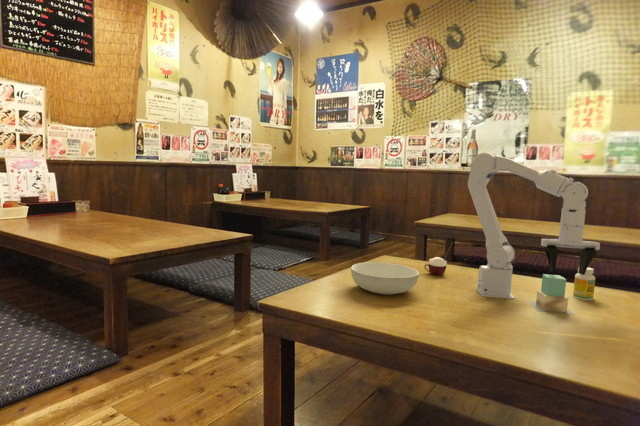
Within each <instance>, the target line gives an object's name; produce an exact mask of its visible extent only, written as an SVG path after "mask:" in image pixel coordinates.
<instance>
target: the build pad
mask: <svg viewBox="0 0 640 426" xmlns="http://www.w3.org/2000/svg"><path fill="white" fill-rule="evenodd" d="M528 302H529V303H530V304H531V305H532V306H533V307H534V308H535V309H536V310H537V311H539V312H541V313H542V312H543V313H550V314H551V313H552V314H562V315H574V316H575V315H576V314H575V313H574V312H572V311H571V309H569V308H567V312H559V311H547V310H543V309H542V308H541V307H539V306H538V305H537V304H536V301H531V300H529V301H528Z"/></svg>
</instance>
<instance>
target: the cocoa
mask: <svg viewBox="0 0 640 426" xmlns="http://www.w3.org/2000/svg"><path fill="white" fill-rule="evenodd" d="M453 245H454V242H451V243H450V245H449V247H448V248H447V249H448V250H447V252H446V253H445V255H444V258H442V257H438V256H435V257H433V258H429V260H428V264H427V263H426V264H424V266H423V267H424V269H425V270H426V271H427V272H428V273H429V274H431V275H433V276H442V275H444V274H445V273H446V270H447V259H448V258H447V257H448V256H449V254H450V252H451V250H452V247H453ZM426 266H428V269H427V268H426Z"/></svg>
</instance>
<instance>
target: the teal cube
mask: <svg viewBox="0 0 640 426" xmlns="http://www.w3.org/2000/svg"><path fill="white" fill-rule="evenodd" d="M541 278H542V280H541V286H540V288H541V289H540V290H541V291H542V292H543V293H544V294H545V295H547V296H556V297H565V296H566V286H567V279H566V278H565V277H564V276H561V275H559V274H546V273H545V274H544V273H543V274H542V277H541Z"/></svg>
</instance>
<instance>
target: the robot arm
mask: <svg viewBox="0 0 640 426" xmlns="http://www.w3.org/2000/svg"><path fill="white" fill-rule="evenodd" d="M469 169H470V171H469V175H468V181H467V188H468V190H469V194H470V196H471V199H472V202H473V205H474V209H475V211H476V214H477V217H478V219H479V223H480V226H481V228H482V231H483V234H484V237H485V248H486V260H487V264H486V265H480V266H479V267H478V268H479V269H478V275H477V288H476V290H477V291H478V294H479V295H480V296H481V297H485V298H486V297H488V298H489V297H490V298H500V299H511V300H513V299H515V296H514V295H513V294H512V292H511V289H512V279H513V269H514V266H513V265H512V261H513V260H515V258H516V257H515V256H516V252H515V249H514V248H513V246H512V245H511V244H510V243H509V241H508V239H507V237H506V235H504V233H503V230H502V228H501V225H500V222H499V219H498V216H497V212H496V211H495V208H494V205H493V203H492V202H493V201H492V199H491V197H490V193H489V191H488V188H487V185H488V184H489V182H490V180H491V178H492V177H493V176H494V175H496V174H497V173H498V172H502V173H503V172H509V173H511V174H515V175H517V176H519V177H521V178H524V179H527V180H529V181H532V182H534V184H535V187H536V188H537V189H538V190H542V191H544V192H546V193H548V194H551V195H552V196H555V197H558V198H560V197H561V198H562V199H563V200H562V201H563V203H562V207H561V216H560V222H559V223H560V224H559V233H558V238H541V240H540V241H541V242H540V245H541V246H542V247H543V249H544V252H545V254H546V257H547V261H548V265H549V271H550V272H551V273H556V269H557V261H558V255H559V252H560V250H559V249H558V248H571V249H579V263H578V264H579V266H578V267H579V272H578V273H580V274H582V275H585V272H586V269H587V267H588V268H589V265H590V263H591V261H592V260H593V259H594V258H595V256H596V255H597V253H598V251H600V246H601V242H597V241H588V240H583V237H584V229H585V220H586V211H587V210H586V207H587V203H586V202H587V201H586V199H587V197H588V196H589V190H588V188H587V186H586V185H585V184H584V183H582V182H581V181H574V178H572V177H569V178H568V177H566V176H563V175H561V174H559V173H557V170H554V169H551V170H548V169H545V170H542V171H539V170H536V169H535V168H532V167H530V166H528V165H526V164H524V163H521V162H518V161H516V160H514V159H512V158H508V157H506V156H505V157H504V156H500V155H497V154H493V153H491V154H490V153H487V152H480V153H478V154H477V155H475V157H474V158H473V160H472V161H471V162H470V165H469Z"/></svg>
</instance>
